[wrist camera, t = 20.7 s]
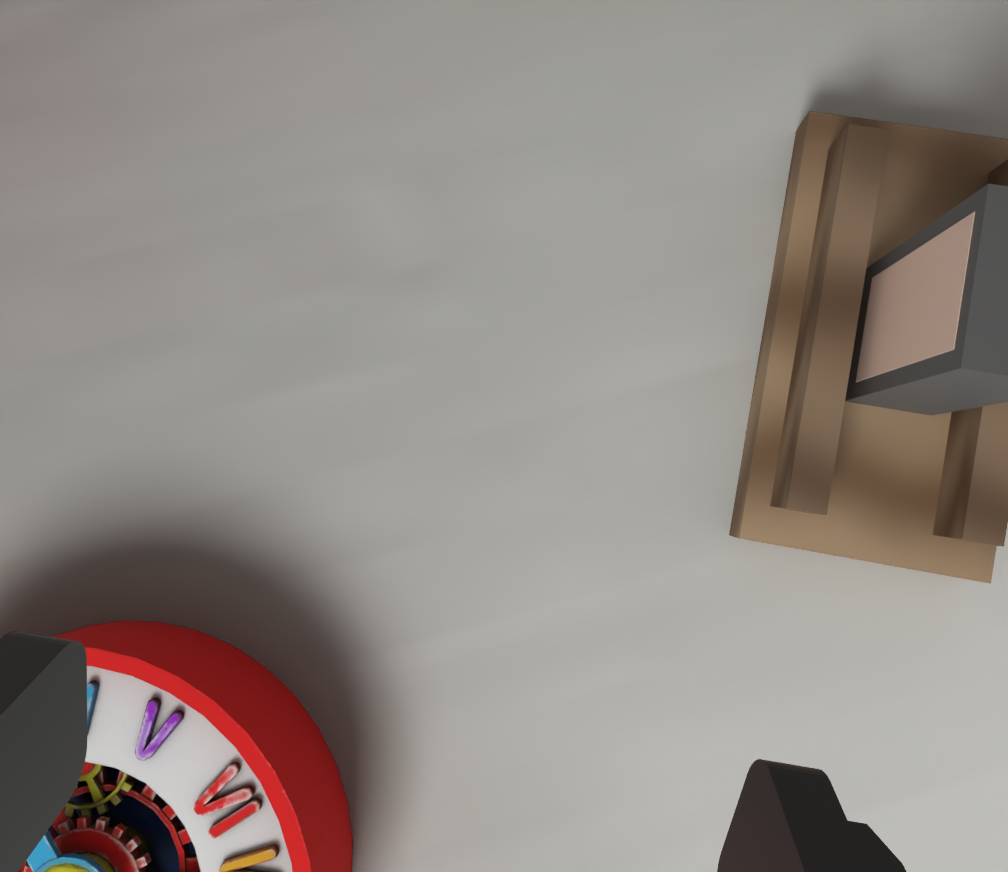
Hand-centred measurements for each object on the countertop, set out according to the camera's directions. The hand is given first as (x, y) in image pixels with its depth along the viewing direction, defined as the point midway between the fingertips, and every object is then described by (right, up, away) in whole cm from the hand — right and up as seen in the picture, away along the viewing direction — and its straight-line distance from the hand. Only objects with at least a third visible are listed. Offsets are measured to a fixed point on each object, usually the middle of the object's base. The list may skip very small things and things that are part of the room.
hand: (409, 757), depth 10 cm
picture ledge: (+17, +8, +26) cm, 32 cm away
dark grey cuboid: (+17, +8, +24) cm, 31 cm away
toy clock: (-15, -14, +28) cm, 35 cm away
